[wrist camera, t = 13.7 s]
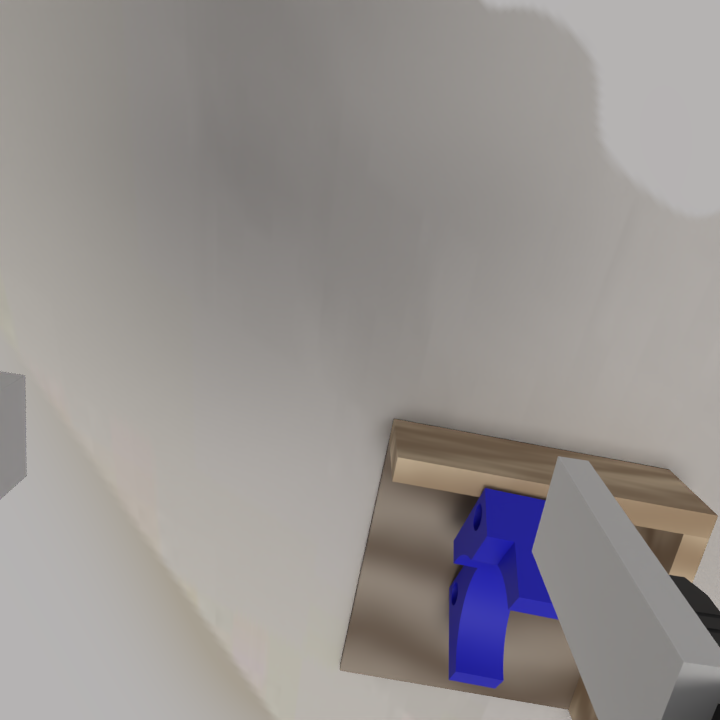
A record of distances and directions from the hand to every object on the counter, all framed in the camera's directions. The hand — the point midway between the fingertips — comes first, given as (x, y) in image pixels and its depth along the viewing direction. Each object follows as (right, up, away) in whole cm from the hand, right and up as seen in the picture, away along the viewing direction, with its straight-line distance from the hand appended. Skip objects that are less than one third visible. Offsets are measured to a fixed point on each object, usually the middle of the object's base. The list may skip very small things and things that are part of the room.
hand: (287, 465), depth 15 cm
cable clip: (+10, -9, +24) cm, 27 cm away
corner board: (+11, -12, +28) cm, 33 cm away
